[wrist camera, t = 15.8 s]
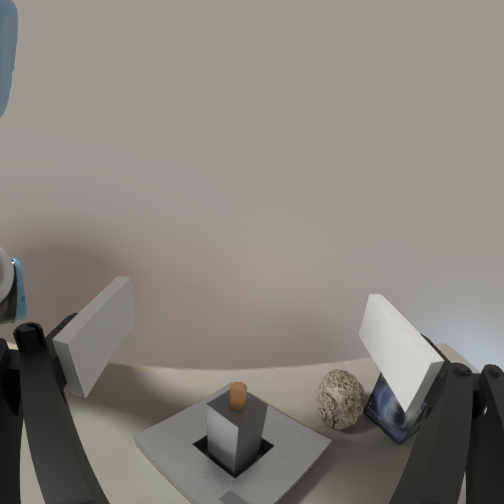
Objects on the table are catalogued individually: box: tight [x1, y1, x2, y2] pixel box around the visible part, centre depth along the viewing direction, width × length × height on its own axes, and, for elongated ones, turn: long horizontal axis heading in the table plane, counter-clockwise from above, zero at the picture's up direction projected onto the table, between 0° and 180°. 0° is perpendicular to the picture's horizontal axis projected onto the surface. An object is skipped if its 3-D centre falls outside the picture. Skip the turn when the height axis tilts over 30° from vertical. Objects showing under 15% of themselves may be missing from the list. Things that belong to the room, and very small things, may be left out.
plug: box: [206, 382, 268, 475], centre depth 30 cm, size 5×5×15 cm
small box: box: [363, 373, 428, 445], centre depth 37 cm, size 11×6×10 cm, turn 24°
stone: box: [317, 369, 364, 430], centre depth 39 cm, size 6×10×10 cm, turn 4°
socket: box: [133, 382, 332, 504], centre depth 32 cm, size 20×20×4 cm
